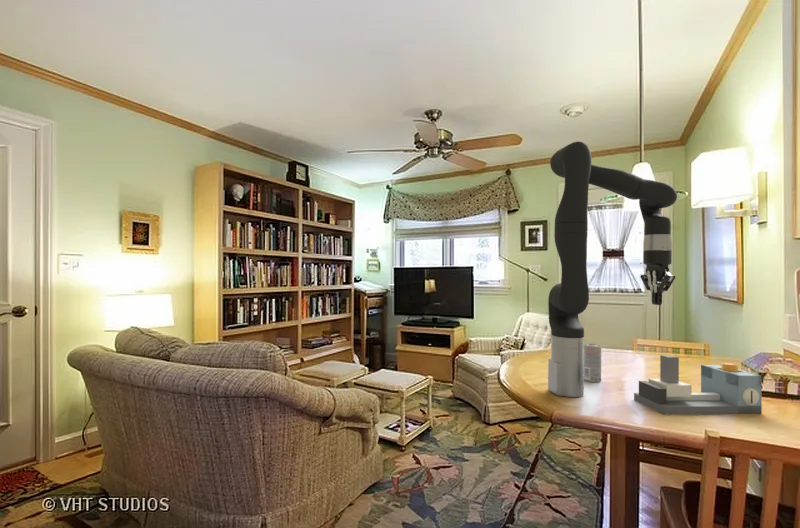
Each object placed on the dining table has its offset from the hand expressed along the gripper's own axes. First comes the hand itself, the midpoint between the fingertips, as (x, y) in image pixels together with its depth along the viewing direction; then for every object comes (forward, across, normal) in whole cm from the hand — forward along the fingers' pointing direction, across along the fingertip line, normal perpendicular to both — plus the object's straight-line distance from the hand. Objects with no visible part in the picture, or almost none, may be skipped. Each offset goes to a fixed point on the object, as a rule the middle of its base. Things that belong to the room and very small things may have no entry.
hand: (656, 304), depth 126 cm
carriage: (+23, +15, -7) cm, 28 cm away
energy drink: (+27, -12, -14) cm, 33 cm away
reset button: (+20, +15, +10) cm, 27 cm away
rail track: (+27, +15, 0) cm, 31 cm away
